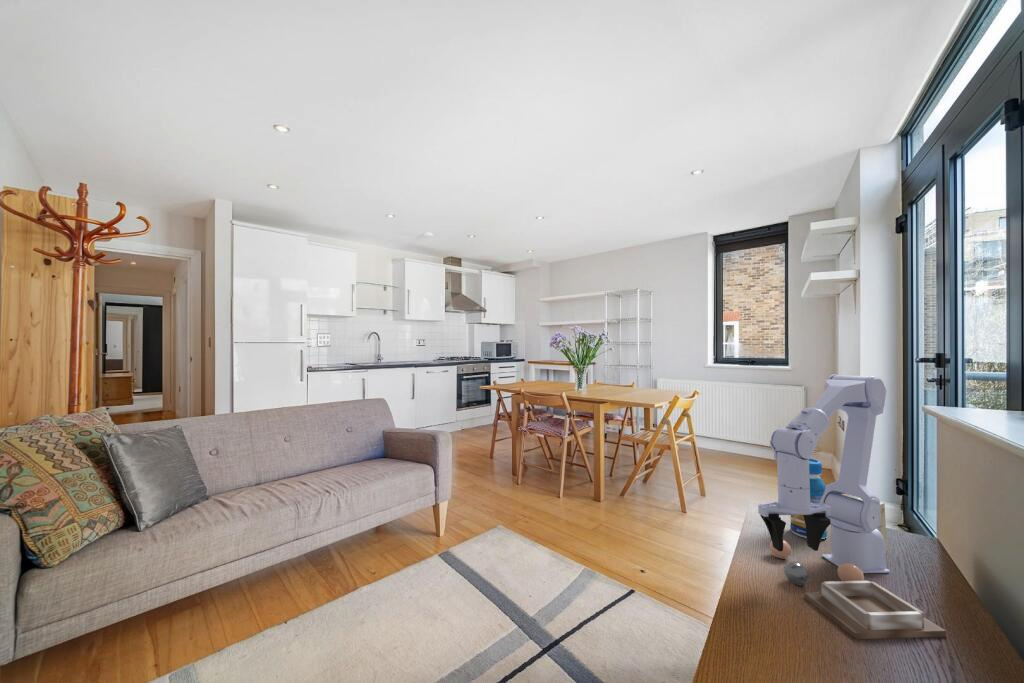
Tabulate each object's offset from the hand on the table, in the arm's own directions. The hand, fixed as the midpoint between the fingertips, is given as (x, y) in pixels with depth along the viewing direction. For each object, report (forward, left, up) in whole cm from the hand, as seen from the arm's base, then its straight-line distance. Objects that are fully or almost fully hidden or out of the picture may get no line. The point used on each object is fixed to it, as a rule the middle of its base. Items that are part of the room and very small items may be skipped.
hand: (795, 548), depth 88 cm
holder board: (-6, +11, -7) cm, 15 cm away
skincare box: (-28, -13, -8) cm, 32 cm away
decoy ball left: (-11, +1, -5) cm, 12 cm away
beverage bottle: (-20, -23, -8) cm, 31 cm away
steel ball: (0, 0, -5) cm, 5 cm away
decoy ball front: (-4, -11, -5) cm, 13 cm away
